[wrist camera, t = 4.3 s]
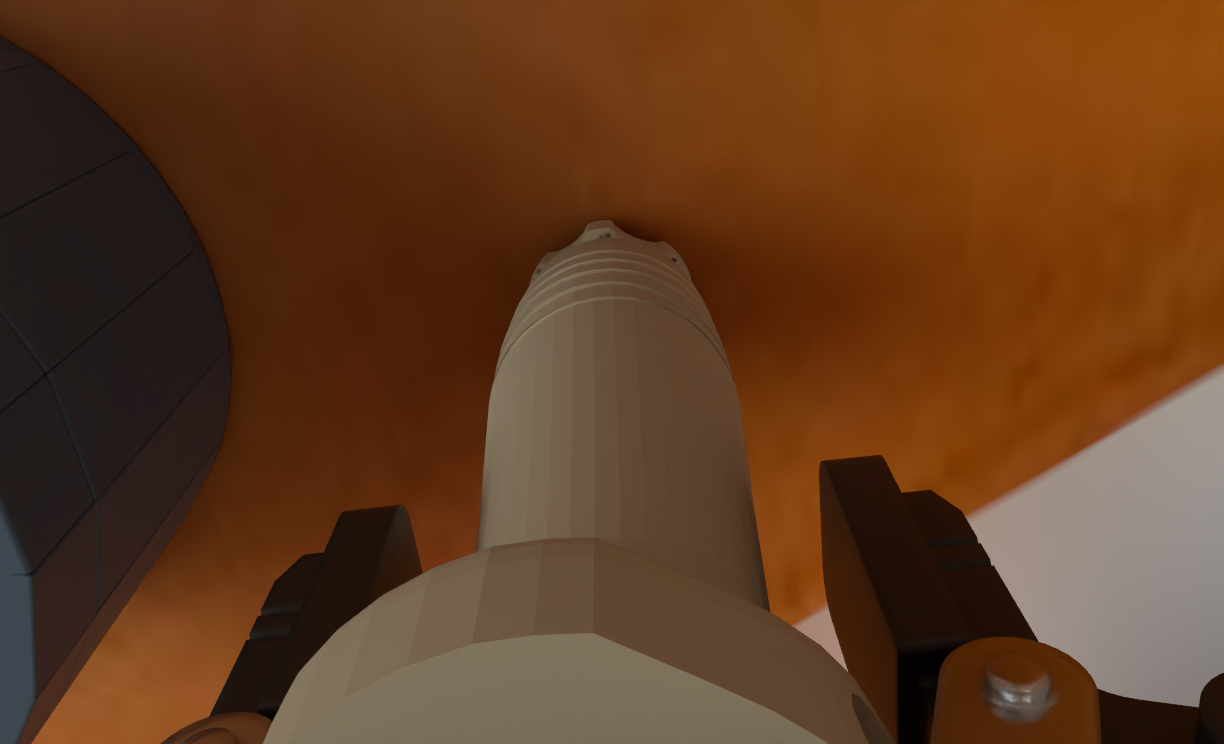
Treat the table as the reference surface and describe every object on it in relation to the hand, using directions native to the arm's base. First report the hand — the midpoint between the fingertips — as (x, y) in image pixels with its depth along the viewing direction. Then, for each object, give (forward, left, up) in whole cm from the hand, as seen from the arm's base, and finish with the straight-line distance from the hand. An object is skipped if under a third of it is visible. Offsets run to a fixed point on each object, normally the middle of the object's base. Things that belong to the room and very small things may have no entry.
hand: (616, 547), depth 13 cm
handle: (0, 0, -10) cm, 10 cm away
